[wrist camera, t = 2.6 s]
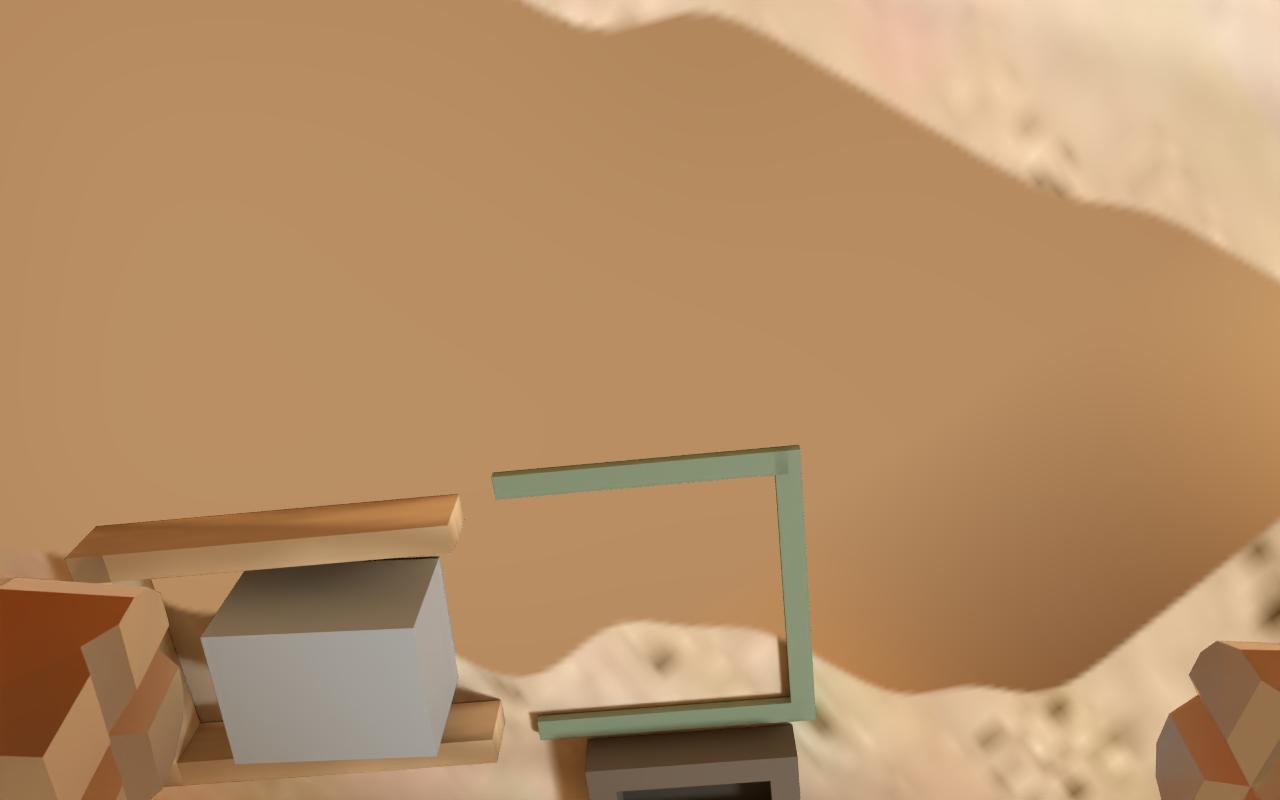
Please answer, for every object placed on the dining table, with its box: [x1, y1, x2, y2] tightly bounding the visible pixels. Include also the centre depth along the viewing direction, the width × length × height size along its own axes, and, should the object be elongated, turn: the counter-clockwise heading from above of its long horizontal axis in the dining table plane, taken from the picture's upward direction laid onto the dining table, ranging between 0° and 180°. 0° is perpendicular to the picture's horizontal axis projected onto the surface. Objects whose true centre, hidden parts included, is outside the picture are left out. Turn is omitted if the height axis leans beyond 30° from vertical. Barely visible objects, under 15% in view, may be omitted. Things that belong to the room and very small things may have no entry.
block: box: [200, 556, 459, 764], centre depth 43 cm, size 6×8×5 cm
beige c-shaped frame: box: [64, 494, 505, 787], centre depth 44 cm, size 11×15×2 cm
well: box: [585, 725, 800, 800], centre depth 47 cm, size 5×9×2 cm, turn 96°
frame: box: [492, 445, 816, 740], centre depth 44 cm, size 13×12×1 cm
